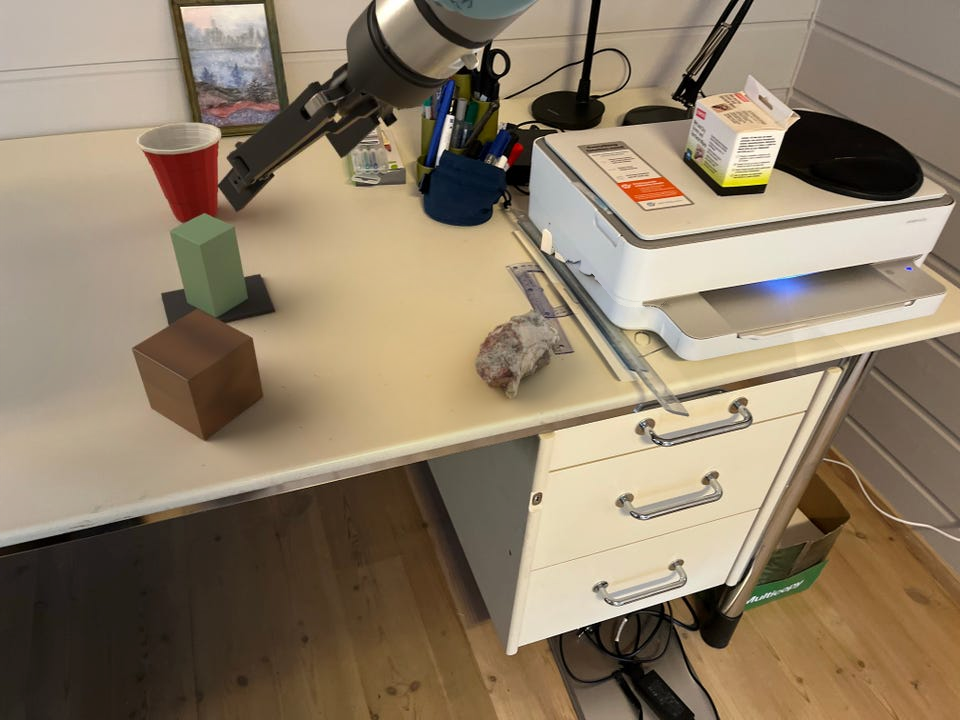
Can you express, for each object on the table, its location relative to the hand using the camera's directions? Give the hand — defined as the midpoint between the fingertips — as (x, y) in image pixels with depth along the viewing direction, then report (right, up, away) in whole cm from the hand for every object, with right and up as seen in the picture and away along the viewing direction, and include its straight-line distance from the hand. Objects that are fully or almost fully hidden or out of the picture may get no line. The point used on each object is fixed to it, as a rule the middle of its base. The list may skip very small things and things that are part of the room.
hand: (285, 169), depth 69 cm
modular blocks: (+35, -5, +32) cm, 48 cm away
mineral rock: (+22, -18, +16) cm, 33 cm away
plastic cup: (-23, +3, +38) cm, 44 cm away
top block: (-14, -10, +21) cm, 27 cm away
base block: (-10, -22, +9) cm, 26 cm away
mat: (-14, -11, +22) cm, 28 cm away
